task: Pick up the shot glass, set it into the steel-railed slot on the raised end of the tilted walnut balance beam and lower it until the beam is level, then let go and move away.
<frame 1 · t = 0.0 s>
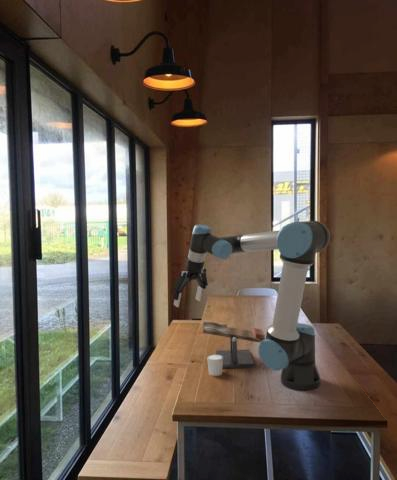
hand: (187, 303, 178), 28 cm above the table, tool tilted 20°, fingers open, 13 cm apart
stand: (234, 359, 181), on the table
beam: (233, 332, 180), point 13 cm above the table, hinge at -12.0°
shot glass: (215, 373, 167), on the table
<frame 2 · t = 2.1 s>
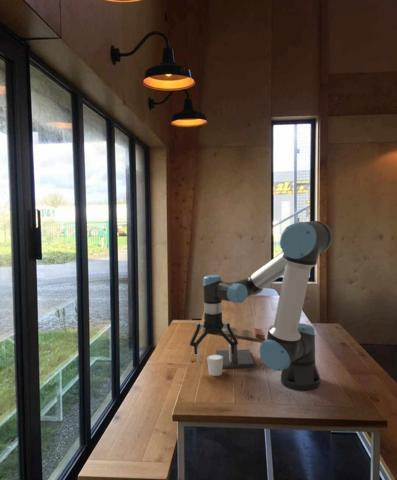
hand: (214, 360, 167), 5 cm above the table, tool pointing down, fingers open, 13 cm apart
nothing on the table moved.
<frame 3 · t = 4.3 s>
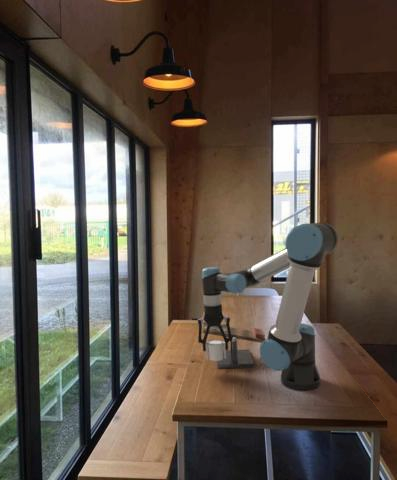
hand: (216, 357, 166), 7 cm above the table, tool pointing down, fingers closed on shot glass, 7 cm apart
shot glass: (216, 359, 166), point 6 cm above the table, touching gripper
everything else where it was.
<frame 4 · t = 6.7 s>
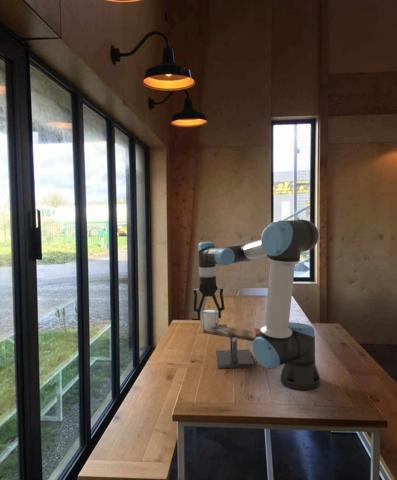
hand: (209, 325, 180), 17 cm above the table, tool pointing down, fingers closed on shot glass, 7 cm apart
beam: (233, 332, 180), point 13 cm above the table, hinge at -11.8°, touching shot glass
shot glass: (209, 326, 180), point 16 cm above the table, touching beam, gripper
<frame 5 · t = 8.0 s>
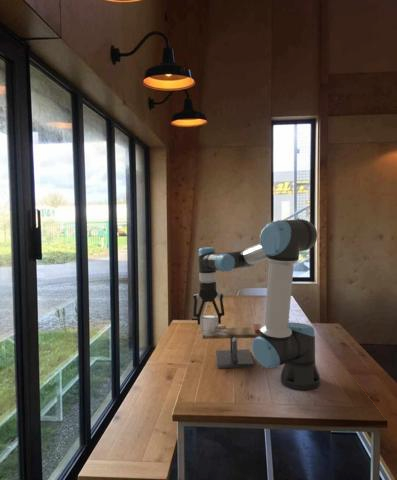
hand: (209, 330, 180), 14 cm above the table, tool pointing down, fingers closed on shot glass, 7 cm apart
beam: (233, 332, 180), point 13 cm above the table, hinge at -1.1°, touching shot glass
shot glass: (209, 332, 180), point 14 cm above the table, touching beam, gripper
when the fingers open (14 cm above the table, at t = 9.1 s): shot glass stays where it is, resting on beam.
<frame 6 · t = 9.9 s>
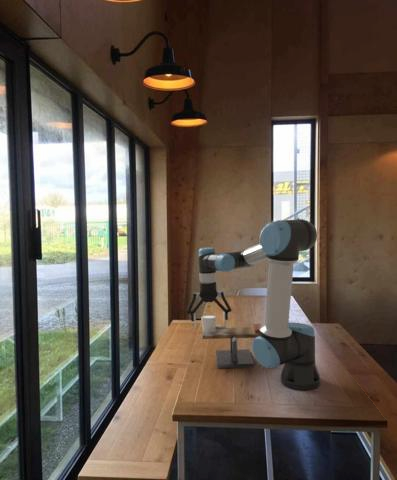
hand: (209, 327, 180), 16 cm above the table, tool pointing down, fingers open, 13 cm apart
beam: (233, 332, 180), point 13 cm above the table, hinge at -0.7°, touching shot glass
shot glass: (209, 332, 180), point 13 cm above the table, touching beam
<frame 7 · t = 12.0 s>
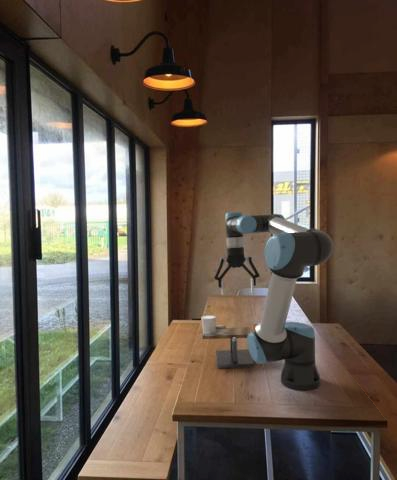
hand: (237, 294, 176), 31 cm above the table, tool pointing down, fingers open, 13 cm apart
nothing on the table moved.
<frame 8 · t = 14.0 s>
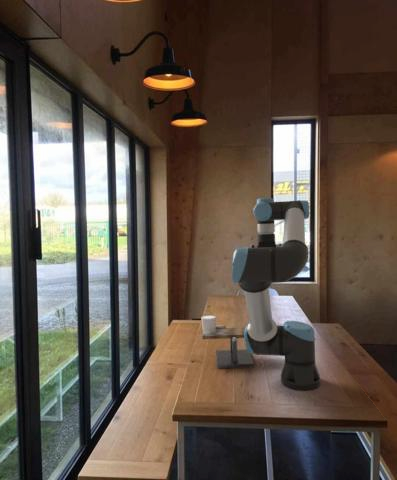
hand: (267, 281, 174), 37 cm above the table, tool pointing down, fingers open, 13 cm apart
nothing on the table moved.
at the end: beam at +0° (first picture: -12°); shot glass 0.4 cm from the target spot on the beam, point 1.4 cm above the beam's base; shot glass tilted 0° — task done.
